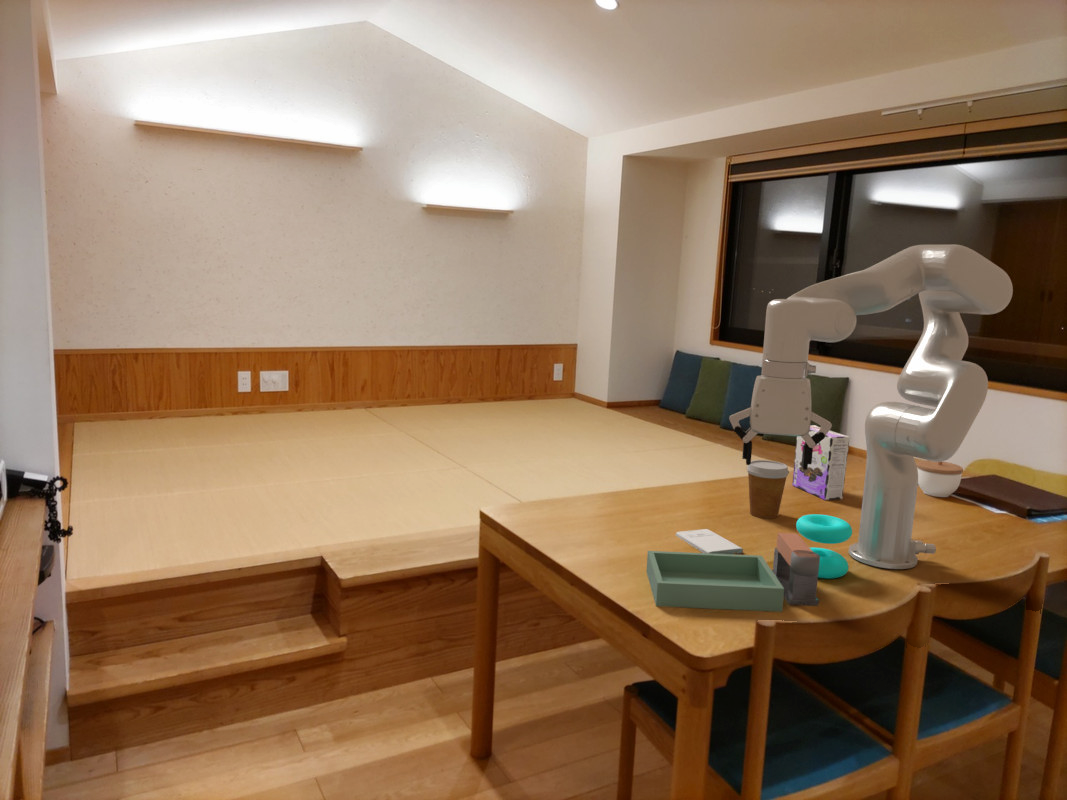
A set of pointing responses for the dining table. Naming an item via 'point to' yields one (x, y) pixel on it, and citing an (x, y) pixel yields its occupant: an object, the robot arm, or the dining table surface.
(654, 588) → the tray
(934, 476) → the lidded jar
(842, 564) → the donuts
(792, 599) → the bracket
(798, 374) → the robot arm
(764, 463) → the disposable coffee cup
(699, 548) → the external hard drive
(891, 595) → the dining table surface
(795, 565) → the strut
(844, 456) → the candy box
